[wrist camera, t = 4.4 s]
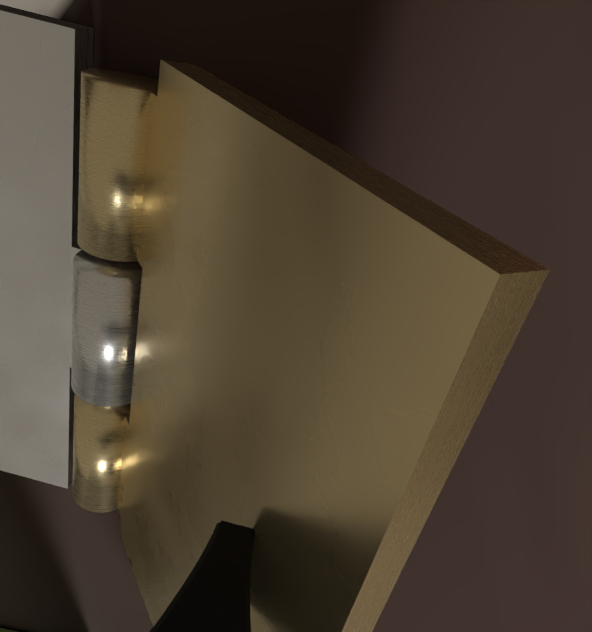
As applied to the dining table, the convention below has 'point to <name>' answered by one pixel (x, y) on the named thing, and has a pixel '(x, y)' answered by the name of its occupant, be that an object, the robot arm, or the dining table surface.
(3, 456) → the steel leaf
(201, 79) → the brass leaf
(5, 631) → the syrup box
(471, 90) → the dining table surface
